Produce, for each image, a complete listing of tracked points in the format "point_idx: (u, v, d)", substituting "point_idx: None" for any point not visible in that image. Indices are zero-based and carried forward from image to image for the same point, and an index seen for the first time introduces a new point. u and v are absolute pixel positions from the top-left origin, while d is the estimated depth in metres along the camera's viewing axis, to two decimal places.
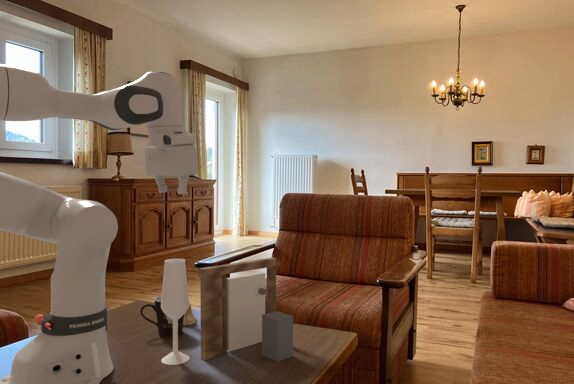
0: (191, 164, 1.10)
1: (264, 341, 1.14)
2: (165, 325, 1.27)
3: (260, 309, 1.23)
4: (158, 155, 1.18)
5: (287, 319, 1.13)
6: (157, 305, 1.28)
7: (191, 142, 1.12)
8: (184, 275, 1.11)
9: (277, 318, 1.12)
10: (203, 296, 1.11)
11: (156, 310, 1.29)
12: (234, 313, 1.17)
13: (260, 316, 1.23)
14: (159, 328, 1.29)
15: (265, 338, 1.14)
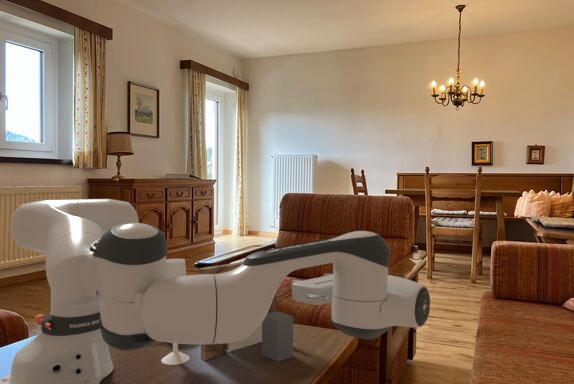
0: None
1: (264, 341, 1.14)
2: None
3: None
4: None
5: (287, 319, 1.13)
6: None
7: None
8: (184, 275, 1.11)
9: (277, 318, 1.12)
10: None
11: None
12: None
13: None
14: None
15: (265, 338, 1.14)
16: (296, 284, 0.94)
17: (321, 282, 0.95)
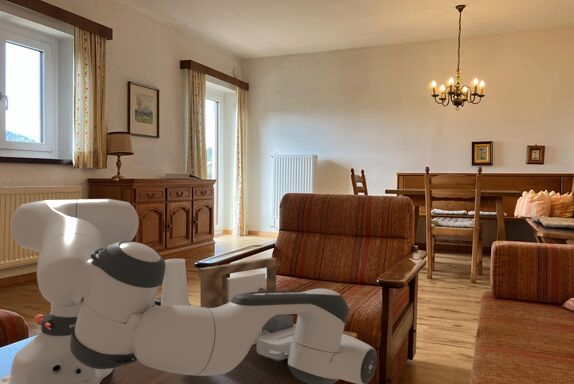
0: None
1: None
2: None
3: None
4: None
5: (287, 319, 1.13)
6: None
7: None
8: (184, 275, 1.11)
9: (277, 318, 1.12)
10: (203, 296, 1.11)
11: None
12: None
13: None
14: None
15: None
16: (260, 339, 1.04)
17: (283, 337, 1.06)
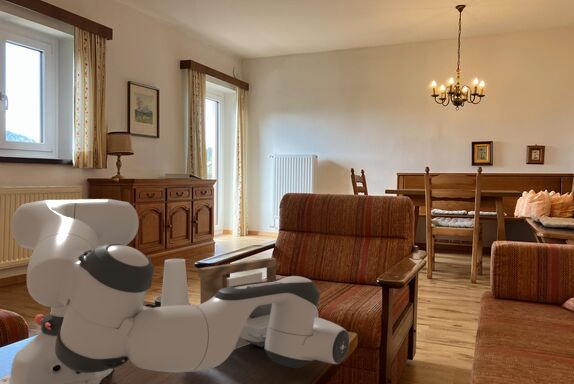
0: None
1: None
2: None
3: None
4: None
5: (270, 306, 1.19)
6: (157, 305, 1.28)
7: None
8: (184, 275, 1.11)
9: (261, 305, 1.18)
10: (203, 296, 1.11)
11: None
12: None
13: None
14: None
15: None
16: None
17: (263, 321, 1.12)
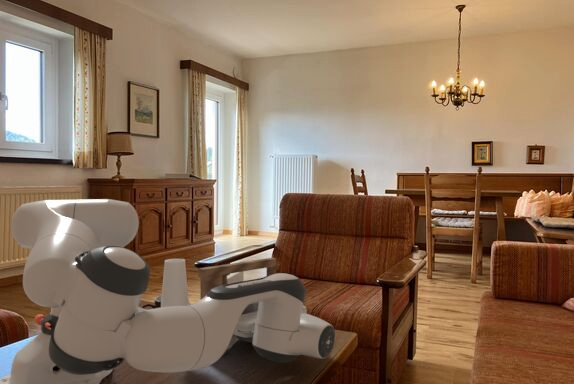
0: None
1: None
2: None
3: None
4: None
5: None
6: (157, 305, 1.28)
7: None
8: (184, 275, 1.11)
9: (252, 303, 1.20)
10: (203, 296, 1.11)
11: None
12: None
13: None
14: None
15: None
16: None
17: (252, 317, 1.14)
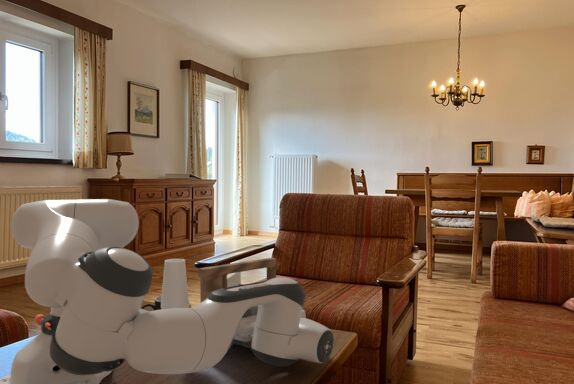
0: None
1: None
2: None
3: None
4: None
5: None
6: (157, 305, 1.28)
7: None
8: (184, 275, 1.11)
9: (250, 308, 1.21)
10: (203, 296, 1.11)
11: None
12: None
13: None
14: None
15: None
16: None
17: (251, 321, 1.14)
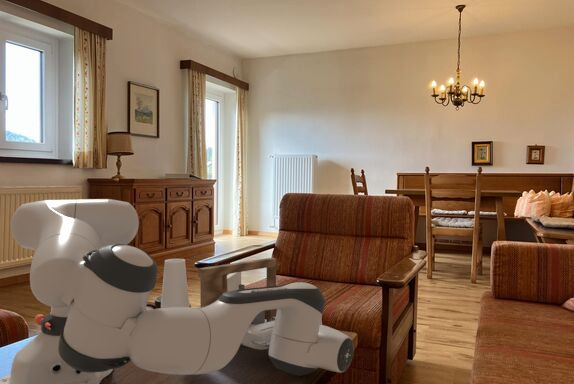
0: None
1: None
2: None
3: None
4: None
5: None
6: (157, 305, 1.28)
7: None
8: (184, 275, 1.11)
9: None
10: (203, 296, 1.11)
11: None
12: None
13: None
14: None
15: None
16: None
17: (266, 328, 1.11)
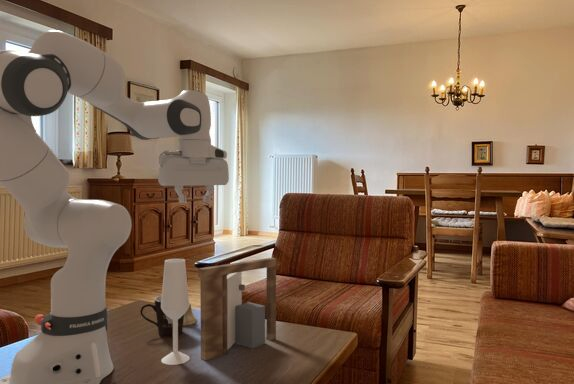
0: None
1: (238, 330, 1.22)
2: (165, 325, 1.27)
3: None
4: (189, 166, 1.24)
5: (260, 309, 1.22)
6: (157, 305, 1.28)
7: None
8: (184, 275, 1.11)
9: (251, 308, 1.21)
10: (203, 296, 1.11)
11: (156, 310, 1.29)
12: (230, 312, 1.19)
13: None
14: (159, 328, 1.29)
15: (239, 328, 1.22)
16: None
17: None
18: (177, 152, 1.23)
